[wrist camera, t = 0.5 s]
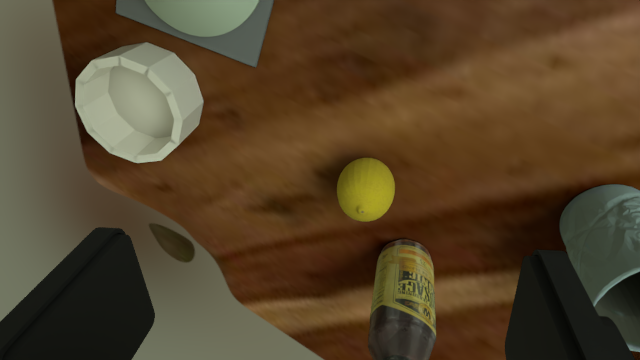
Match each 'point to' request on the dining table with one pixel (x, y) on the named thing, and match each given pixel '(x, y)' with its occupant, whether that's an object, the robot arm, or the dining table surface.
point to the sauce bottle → (403, 303)
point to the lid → (203, 15)
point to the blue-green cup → (607, 253)
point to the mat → (232, 44)
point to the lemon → (365, 189)
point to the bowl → (138, 101)
